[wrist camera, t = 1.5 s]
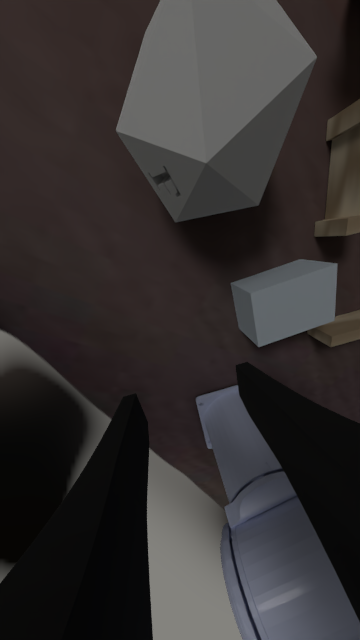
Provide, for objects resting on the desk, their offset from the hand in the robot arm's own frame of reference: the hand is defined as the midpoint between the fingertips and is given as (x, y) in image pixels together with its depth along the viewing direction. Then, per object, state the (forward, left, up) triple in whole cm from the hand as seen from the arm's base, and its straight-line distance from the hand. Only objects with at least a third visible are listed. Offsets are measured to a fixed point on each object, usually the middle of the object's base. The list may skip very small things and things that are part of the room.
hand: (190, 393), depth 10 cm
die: (+12, -5, -10) cm, 16 cm away
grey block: (0, -10, -10) cm, 14 cm away
